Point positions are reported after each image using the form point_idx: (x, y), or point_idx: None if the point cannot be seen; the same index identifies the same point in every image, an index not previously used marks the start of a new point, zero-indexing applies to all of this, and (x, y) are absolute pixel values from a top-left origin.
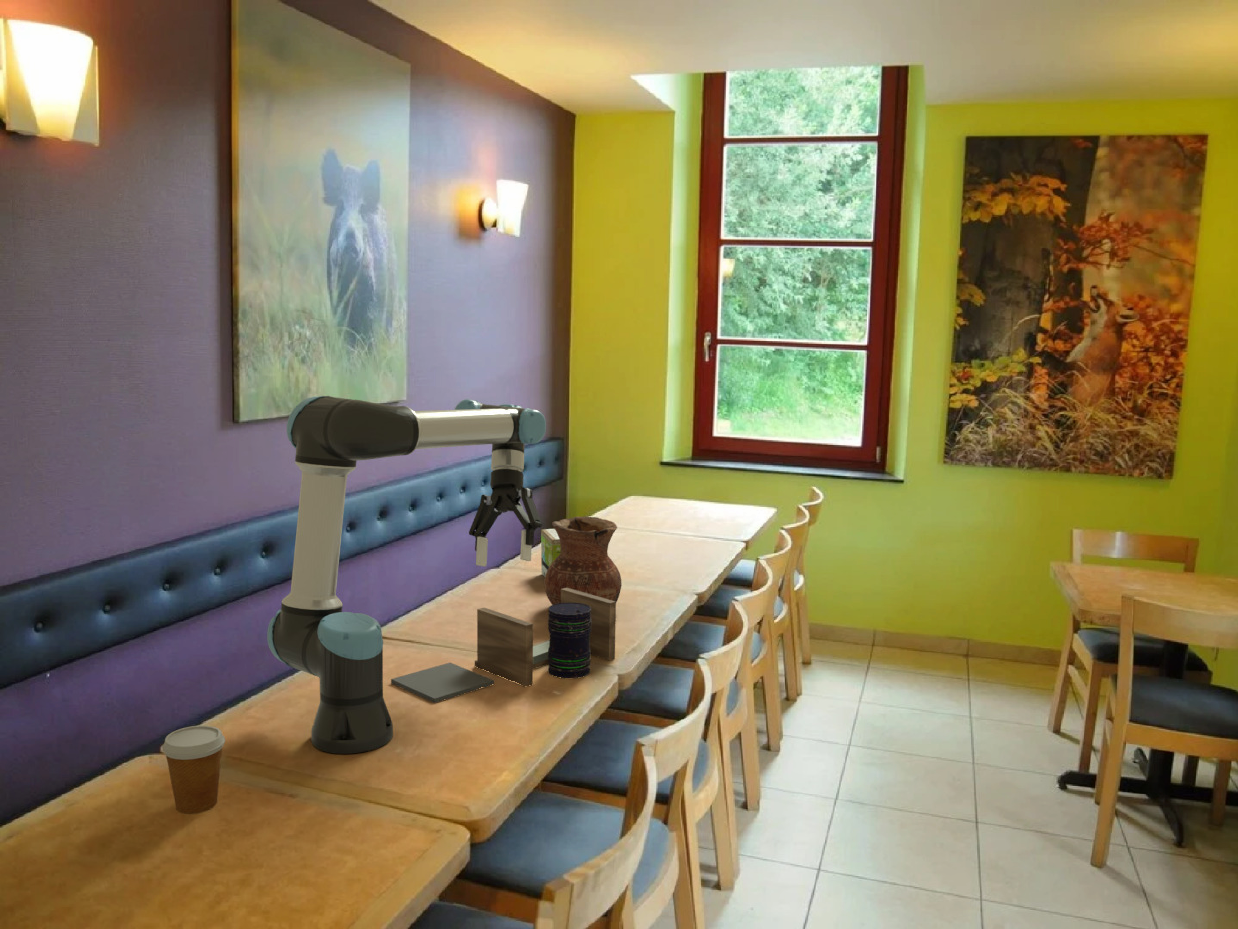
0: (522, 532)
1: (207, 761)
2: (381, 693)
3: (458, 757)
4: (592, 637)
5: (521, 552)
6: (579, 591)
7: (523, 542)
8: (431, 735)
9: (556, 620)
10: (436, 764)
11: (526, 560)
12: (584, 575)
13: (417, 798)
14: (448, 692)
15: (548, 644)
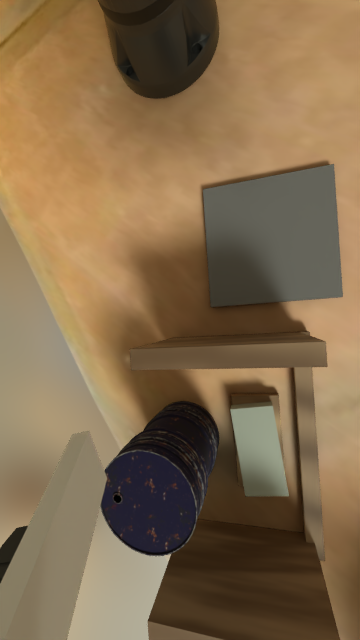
0: (2, 610)
1: None
2: (106, 13)
3: (50, 144)
4: (219, 547)
5: (72, 459)
6: None
7: (33, 517)
8: (114, 141)
9: (142, 442)
10: (49, 115)
11: (97, 464)
12: None
13: (4, 69)
14: (210, 219)
15: (270, 479)
